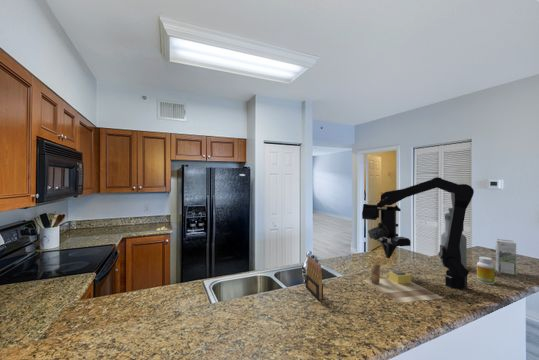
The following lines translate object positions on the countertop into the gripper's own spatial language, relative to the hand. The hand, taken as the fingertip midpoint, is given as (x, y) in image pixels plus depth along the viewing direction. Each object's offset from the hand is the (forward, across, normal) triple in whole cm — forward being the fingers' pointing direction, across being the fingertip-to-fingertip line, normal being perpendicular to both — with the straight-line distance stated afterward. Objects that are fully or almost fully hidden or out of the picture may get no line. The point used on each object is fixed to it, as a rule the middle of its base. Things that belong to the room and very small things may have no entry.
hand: (388, 258), depth 104 cm
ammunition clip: (+8, +9, -37) cm, 39 cm away
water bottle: (+8, -6, +41) cm, 42 cm away
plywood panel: (+8, +13, -5) cm, 16 cm away
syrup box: (+8, +5, +57) cm, 58 cm away
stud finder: (+7, +7, 0) cm, 10 cm away
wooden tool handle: (+7, +7, -11) cm, 15 cm away
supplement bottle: (+8, +12, +36) cm, 39 cm away
